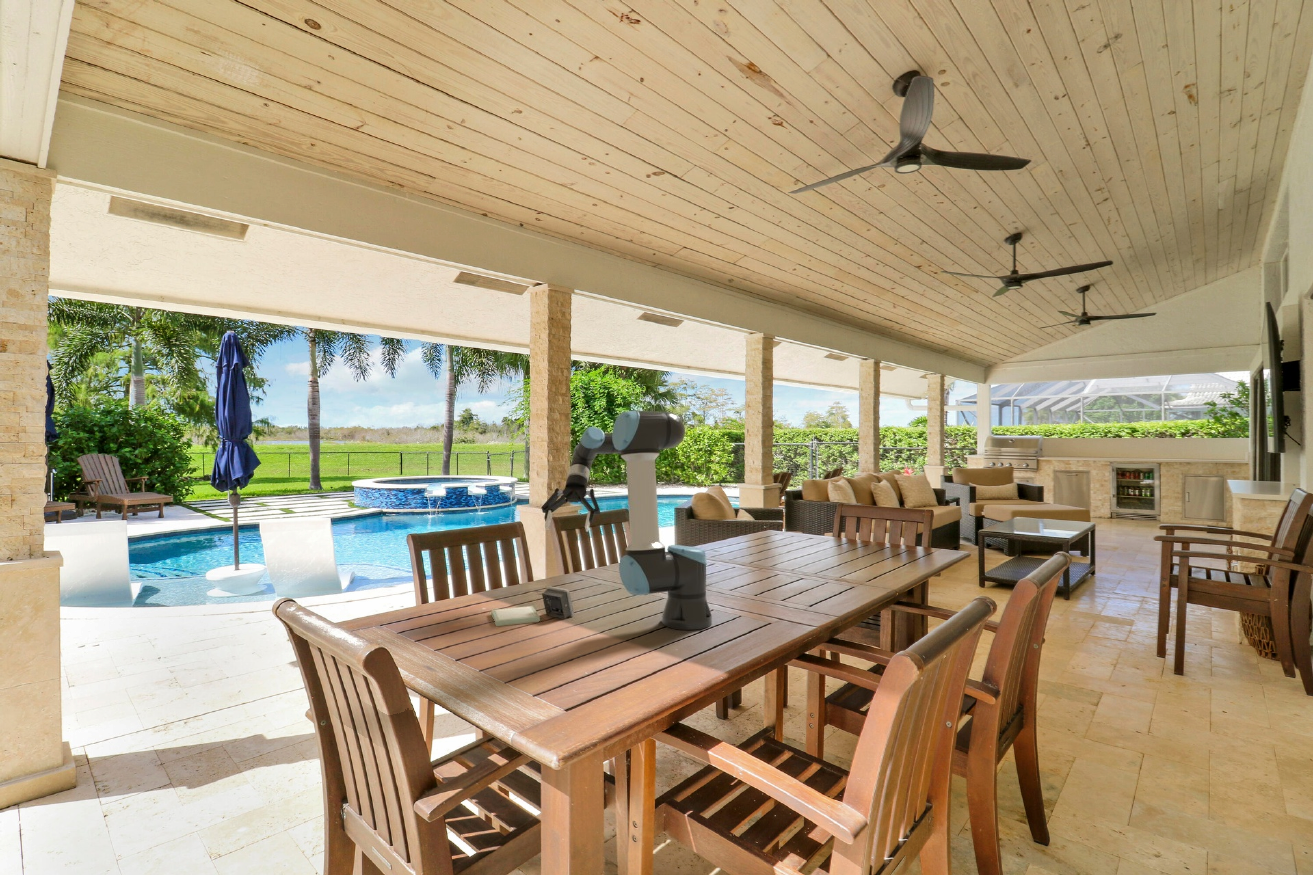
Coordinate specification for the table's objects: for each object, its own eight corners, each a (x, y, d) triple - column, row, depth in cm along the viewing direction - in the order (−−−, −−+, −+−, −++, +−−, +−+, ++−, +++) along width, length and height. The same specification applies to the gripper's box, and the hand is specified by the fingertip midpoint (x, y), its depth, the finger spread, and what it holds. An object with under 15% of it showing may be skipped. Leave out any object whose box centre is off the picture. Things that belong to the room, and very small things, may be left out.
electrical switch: (574, 616, 196) (572, 587, 195) (563, 622, 191) (561, 592, 190) (552, 612, 201) (550, 584, 200) (541, 617, 196) (539, 589, 196)
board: (539, 621, 190) (539, 616, 190) (496, 626, 185) (496, 620, 185) (532, 610, 202) (532, 605, 202) (491, 614, 197) (491, 609, 197)
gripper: (613, 487, 223) (604, 536, 208) (545, 486, 225) (532, 534, 211) (610, 473, 217) (601, 522, 202) (541, 472, 220) (527, 521, 205)
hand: (566, 528), depth 207 cm, fingers open, 13 cm apart
